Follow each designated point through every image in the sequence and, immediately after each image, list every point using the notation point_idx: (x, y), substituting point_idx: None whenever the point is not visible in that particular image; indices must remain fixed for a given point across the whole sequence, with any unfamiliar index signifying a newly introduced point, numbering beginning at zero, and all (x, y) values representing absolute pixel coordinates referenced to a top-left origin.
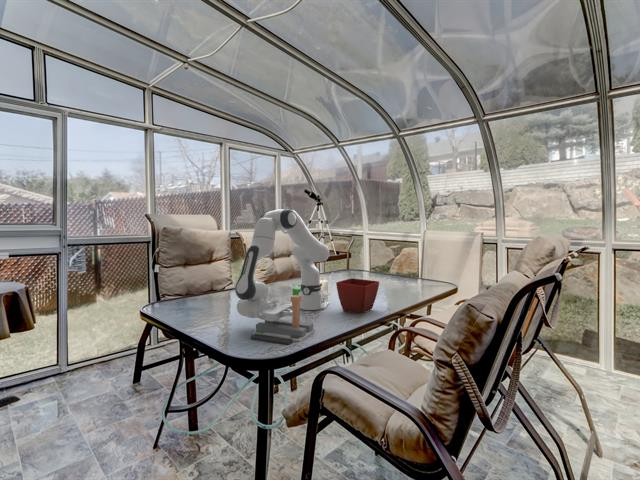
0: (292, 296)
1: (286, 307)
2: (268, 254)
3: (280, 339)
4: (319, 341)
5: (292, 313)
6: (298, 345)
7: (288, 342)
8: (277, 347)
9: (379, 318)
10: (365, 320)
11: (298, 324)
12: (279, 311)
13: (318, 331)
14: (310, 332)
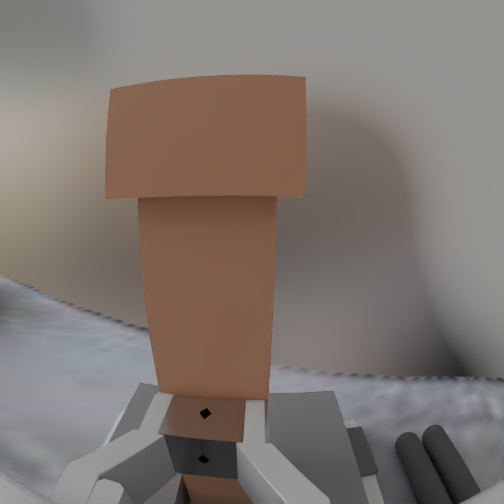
0: (270, 86)
1: (23, 499)
2: None
3: (460, 465)
4: (294, 371)
5: (267, 400)
6: (400, 407)
7: (440, 427)
8: (489, 445)
9: (27, 285)
10: (29, 300)
11: None
12: (469, 502)
13: None
14: None
